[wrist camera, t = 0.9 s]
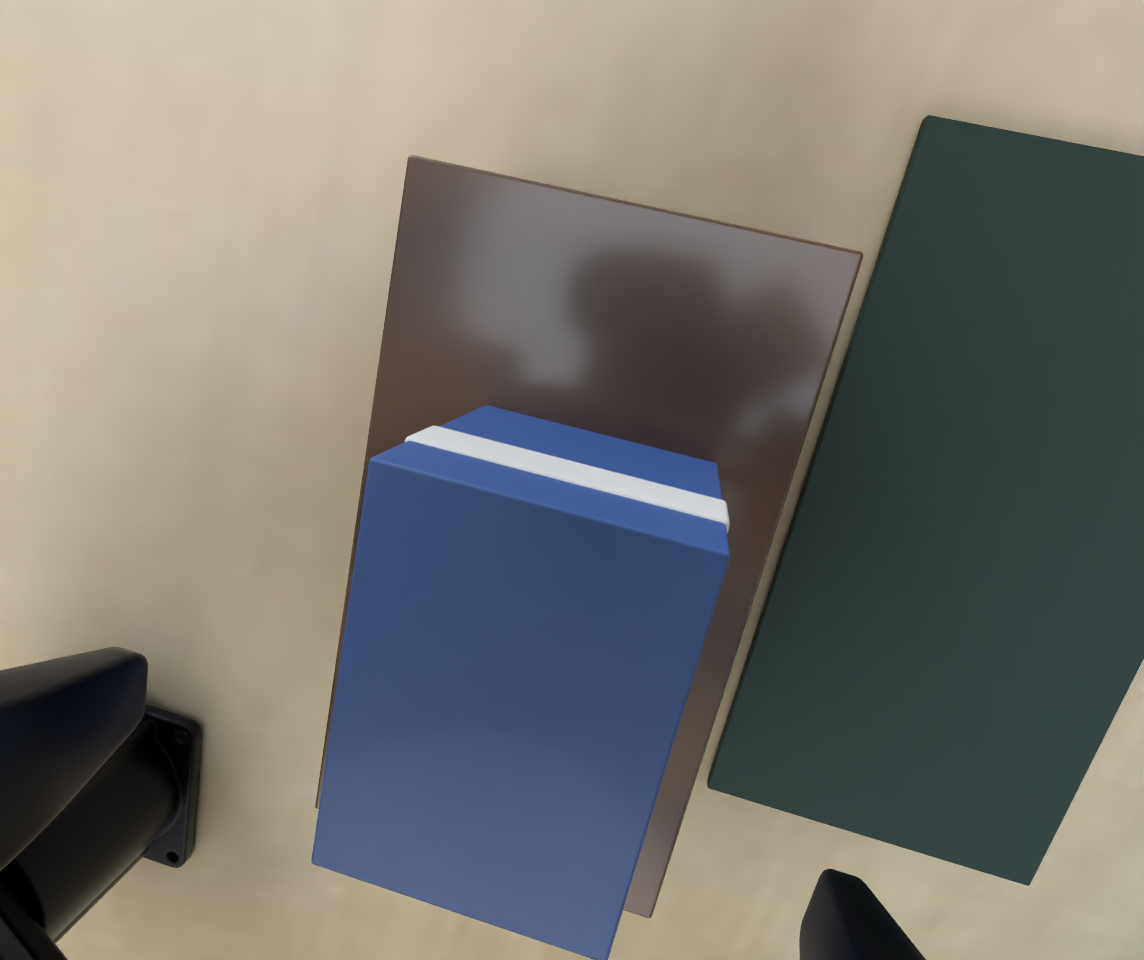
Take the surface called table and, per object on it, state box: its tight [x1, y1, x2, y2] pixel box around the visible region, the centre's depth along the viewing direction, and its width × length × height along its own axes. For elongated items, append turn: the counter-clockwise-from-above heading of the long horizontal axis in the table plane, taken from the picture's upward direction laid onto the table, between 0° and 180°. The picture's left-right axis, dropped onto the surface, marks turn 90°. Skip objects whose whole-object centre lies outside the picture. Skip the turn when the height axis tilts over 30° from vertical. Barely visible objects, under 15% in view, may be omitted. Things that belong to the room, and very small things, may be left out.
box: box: [311, 405, 730, 960], centre depth 13 cm, size 7×5×6 cm
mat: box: [708, 115, 1144, 886], centre depth 19 cm, size 20×10×1 cm, turn 167°
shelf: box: [315, 155, 863, 918], centre depth 18 cm, size 16×9×6 cm, turn 167°
